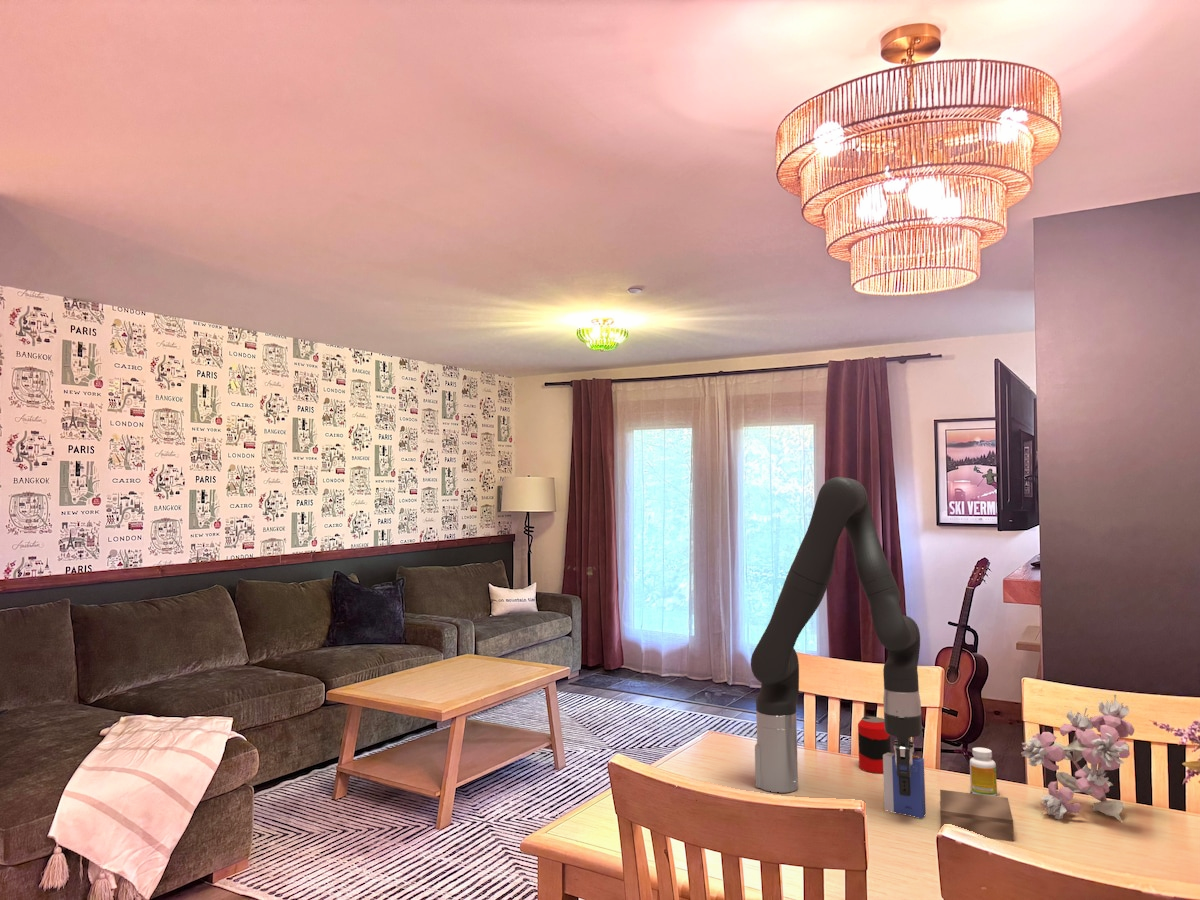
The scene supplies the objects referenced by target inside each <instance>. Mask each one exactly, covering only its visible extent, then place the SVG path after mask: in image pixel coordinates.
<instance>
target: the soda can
mask: <svg viewBox="0 0 1200 900" xmlns="http://www.w3.org/2000/svg"><path fill="white" fill-rule="evenodd" d="M857 735H858V736H857V737H858V738H857V739H858V767H859V768H860V769H861V770H862V771H863V772H866V771H868V772H867V773H870V772H875V773H874V774H883V755H884V754H886V753H887V752H889V753H892V752H891V751H892V750H891V749H892V748H891V735H890V734H888V733H886V732H885V726H884V717H877V716H864V717H861V720H860V721H859V722H858V723H857Z"/></svg>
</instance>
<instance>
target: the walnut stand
mask: <svg viewBox="0 0 1200 900" xmlns="http://www.w3.org/2000/svg"><path fill="white" fill-rule="evenodd" d="M939 792H940V793H939V795H940V798H939V806H940V809H939V810H940V828H941V827H942V826H943V825H944V824H952V825H955V826H958V827H961V828H964V829H967V830H969V831H973V832H975V833H977V834H980V835H983V836H985V837H984V838H986V837H988V839H994V840H995V839H996V840H1000V841H1009V842H1014V841H1015V837H1014V836H1015V835H1014V819H1013V818H1014V817H1013V814H1012V811H1011V806H1010V802H1009V797H1006V796H997V795H996V796H989V795H981V794H973V793H972V792H962V791H956V790H955V791H954V790H948V789H947V790H945V789H939Z"/></svg>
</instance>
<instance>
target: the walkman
mask: <svg viewBox="0 0 1200 900" xmlns="http://www.w3.org/2000/svg"><path fill="white" fill-rule="evenodd" d="M900 770H903V771H907V767H903V766H901V767H900ZM910 773H911V776H910V786H911V795H910V796H902V795H900V793H899V777H898V776H897V766H896V764H895V752H891V753H889V752H887V753H886V754H884V755H883V773H882V774H883V775H882V776H883V800H884V801H883V802H884V803H883V804H884V811H885V810H888V811H892V812H896V813H895V814H897V813H901V814H900V815H902V814H906V815H905V816H907V815H911V816H915V817H914V818H916V817H919V818H918V819H921V818H922V819H924V817H925V816H926V815H927V814H926V811H927V810H926V807H927V806H926V785H925V783H926V782H925V781H926V779H925V759H924V758H922V757H920V756H919V755H915V754H914V755H913V767H911V768H910ZM888 811H887V812H888ZM892 812H891V813H892ZM925 814H926V815H925ZM924 815H925V816H924ZM911 816H910V817H911Z"/></svg>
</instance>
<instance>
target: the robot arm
mask: <svg viewBox="0 0 1200 900" xmlns="http://www.w3.org/2000/svg"><path fill="white" fill-rule="evenodd" d="M844 529H845V530H846V532H847V534H848V537H849V541H850V543H851V546H852V551H853V557H854V563H855V567H856V568H855V569H856V572H857V576H858V580H859V581H860V585H861V588H862V590H863V591H864V594H865V597H866V600H867V601H868V605H869V608H870V613H871V620H872V624H873V628H874V631H875V634H876V636H877V639H878V641H879V642H880V644H881V645H882V646H883V647H884V648H885V649H886V650H887V660H886V661H885V663H884V664H883V671H882V673H883V674H882V675H883V701H882V702H883V719H884V726H885V732H886V733H888V734H890V736H895V737H896V739H894V740H893V753H895V764H896V766H897V776H898V777H899V793H900V795H902V796H910V795H911V786H910V776H911V773H910V768H911V767H913V755H915V753H914V752H915V742H914V741H912V738H917V737H920V736H922V734H923V725H922V724H923V723H922V707H921V706H922V703H921V696H920V691H919V690H920V687H919V673H918V667H919V666H918V664H919V659H920V658H919V657H920V651H921V650H920V648H921V633H920V629H919V626H918V623H916V621H915V620H914V619H913V618H912V617H910V616H907V615H904V614H903V612H902V608H901V605H900V601H901V599H902V598H901V597H902V596H901V592H900V589H899V587H898V584H897V582H896V581H897V580H896V579H895V576H894V575H893V572H892V570H891V567H890V566H889V562H888V560H887V558H886V556H885V552H884V550H883V548H882V547H883V546H882V544H881V541H880V538H879V536H878V535H879V534H878V533H877V529H876V526H875V523H874V517H873V515H872V510H871V505H870V501H869V497H868V494H867V490H866V488H865V487H864V485H863V484H862V483H860V482H859V481H858V480H857V479H853V478H850V477H841V476H837V477H836V476H835V477H833V478H829V479H828V480H827V481H825V483H823V485H821V487H820V489H819V491H818V495H817V496H816V500H815V504H814V507H813V511H812V513H811V517H810V522H809V525H808V527H807V530H806V532H805V535H804V537H803V538H802V541H801V543H800V545H799V548H798V550H797V552H796V555H795V557H794V559H793V562H792V563H791V565H790V568H789V570H788V573H787V576H786V578H785V580H784V582H783V586H782V588H781V591H780V592H779V593H780V594H779V595H778V599H777V601H776V604H775V607H774V608H773V611H772V614H771V617H770V620H769V622H768V624H767V626H766V628H765V631H764V632H763V634H762V636H761V637H760V639H759V641H758V643H757V645H756V646H755V648H754V651H753V652H752V653H751V658H750V668H751V671H752V675H753V676H754V678H755V679H756V680H757V681H758V682H760V683H761V686H760V690H759V693H758V695H757V697H756V699H755V710H756V712H755V713H756V744H755V745H754V768H755V769H754V772H755V773H754V774H755V779H754V780H755V788H757V789H761V790H763V791H766V792H770V791H771V793H777V792H779V793H780V794H784V793H785V794H786V793H792V792H795V791H797V790H798V788H799V775H798V774H799V771H798V768H799V767H798V765H799V764H798V763H799V762H798V727H797V726H798V725H797V722H798V721H797V720H798V719H797V703H798V700H799V694H800V693H799V692H800V684H799V683H800V662H799V657H798V654H797V651H796V649H795V645H796V642H797V640H798V638H799V636H800V634H801V632H802V631H803V630H804V628H805V626H806V625H807V623H809V621H810V620H811V618H812V617H813V615H814V614H815V612H816V611H817V610H818V608H819V606H820V604H821V602H822V601H823V599H824V596H825V594H826V591H827V589H828V587H829V585H830V583H831V582H830V581H831V579H832V577H833V570H834V565H835V557H836V550H837V549H836V548H837V544H838V542H839V539H840V537H841V534H842V531H843V530H844ZM901 766H903V767H907V771H903V770H900V767H901Z"/></svg>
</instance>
